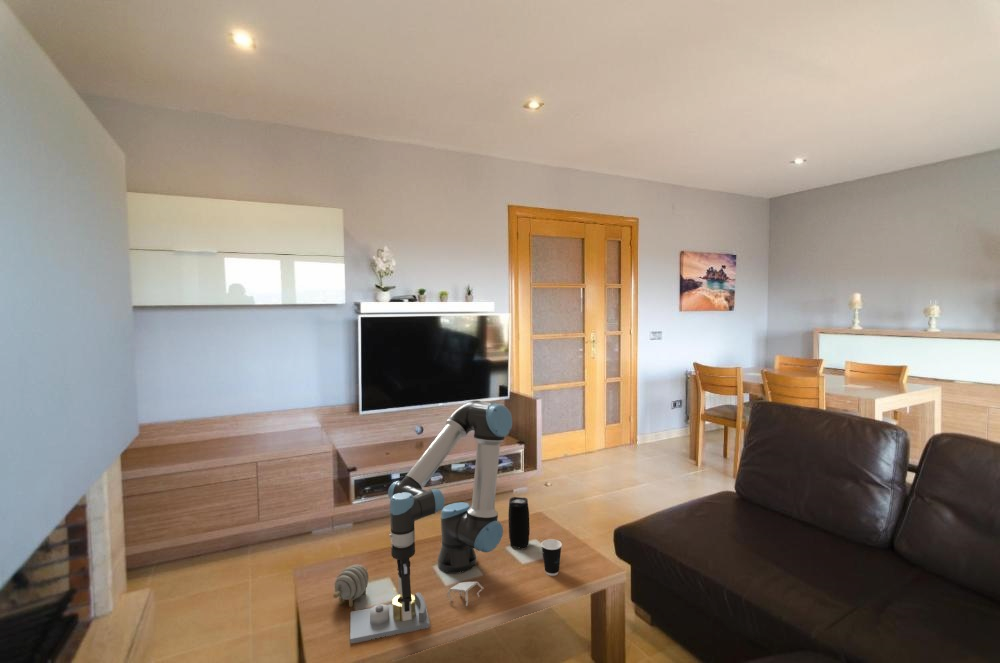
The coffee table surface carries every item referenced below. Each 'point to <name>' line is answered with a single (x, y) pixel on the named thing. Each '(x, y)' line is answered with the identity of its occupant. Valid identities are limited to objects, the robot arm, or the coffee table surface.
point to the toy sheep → (351, 583)
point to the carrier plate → (382, 630)
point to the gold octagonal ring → (398, 608)
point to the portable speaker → (519, 522)
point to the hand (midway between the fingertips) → (404, 607)
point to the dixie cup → (551, 556)
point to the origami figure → (464, 589)
